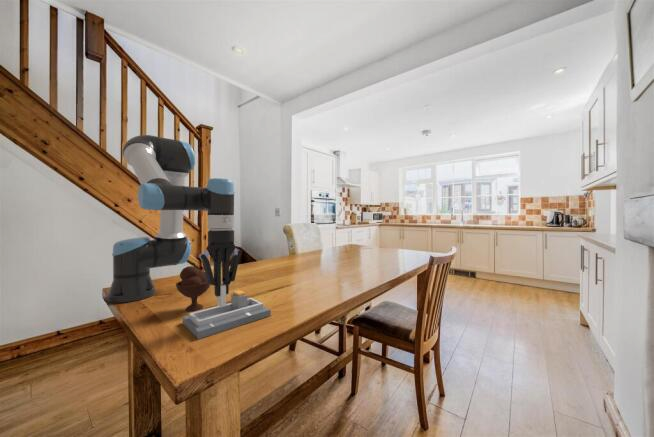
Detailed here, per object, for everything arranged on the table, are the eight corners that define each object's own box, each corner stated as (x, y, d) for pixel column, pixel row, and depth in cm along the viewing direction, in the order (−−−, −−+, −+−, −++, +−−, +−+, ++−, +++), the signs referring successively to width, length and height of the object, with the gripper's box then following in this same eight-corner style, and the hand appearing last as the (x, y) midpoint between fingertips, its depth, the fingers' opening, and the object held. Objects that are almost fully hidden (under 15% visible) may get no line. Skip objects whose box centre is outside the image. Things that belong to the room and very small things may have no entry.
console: (182, 323, 77) (182, 311, 77) (249, 304, 92) (249, 295, 92) (198, 339, 67) (198, 326, 67) (270, 315, 82) (270, 304, 82)
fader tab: (231, 309, 83) (231, 291, 83) (240, 306, 85) (240, 289, 85) (238, 313, 79) (238, 294, 79) (247, 310, 81) (247, 292, 81)
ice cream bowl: (197, 315, 82) (197, 269, 82) (168, 313, 85) (167, 268, 84) (218, 304, 93) (217, 263, 93) (191, 302, 95) (191, 262, 95)
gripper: (203, 231, 71) (204, 315, 71) (246, 229, 80) (247, 303, 80) (194, 229, 76) (194, 308, 76) (235, 228, 85) (236, 297, 86)
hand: (221, 305), depth 78 cm, fingers closed
